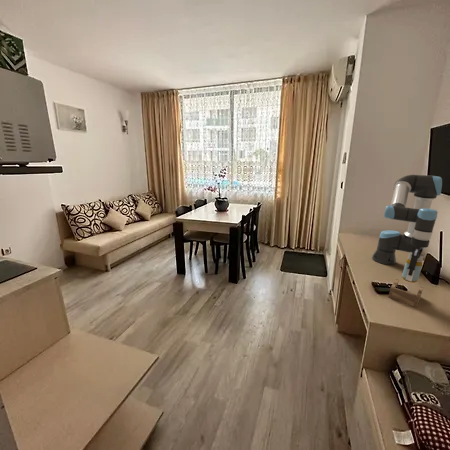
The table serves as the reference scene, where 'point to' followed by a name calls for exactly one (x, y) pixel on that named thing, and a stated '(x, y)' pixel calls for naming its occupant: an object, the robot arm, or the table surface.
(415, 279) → the bottle
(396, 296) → the u rest
